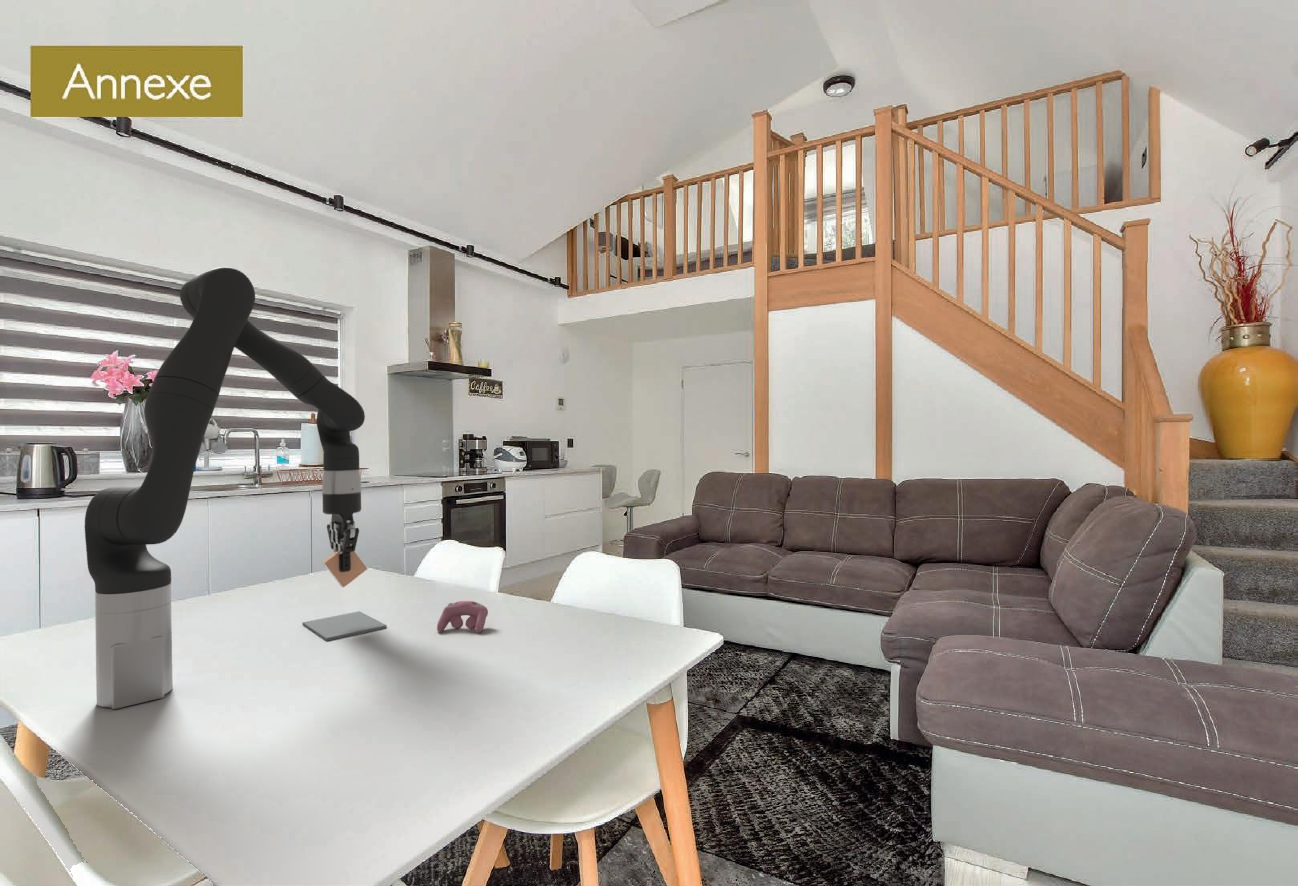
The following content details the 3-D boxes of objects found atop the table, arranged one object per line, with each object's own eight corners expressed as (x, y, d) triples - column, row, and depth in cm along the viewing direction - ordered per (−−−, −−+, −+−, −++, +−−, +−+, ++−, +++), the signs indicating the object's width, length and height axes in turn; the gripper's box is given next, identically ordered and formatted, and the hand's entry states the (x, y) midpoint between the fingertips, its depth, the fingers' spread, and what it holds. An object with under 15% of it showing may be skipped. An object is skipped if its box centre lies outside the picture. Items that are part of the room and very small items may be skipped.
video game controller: (487, 636, 130) (491, 603, 133) (480, 632, 126) (485, 598, 129) (442, 635, 130) (447, 602, 134) (433, 631, 126) (439, 598, 129)
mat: (386, 627, 131) (386, 625, 131) (326, 641, 123) (326, 638, 123) (359, 613, 142) (359, 611, 142) (302, 625, 134) (302, 622, 134)
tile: (367, 569, 135) (349, 544, 133) (343, 587, 132) (324, 562, 129) (364, 567, 137) (346, 543, 134) (340, 586, 133) (321, 561, 130)
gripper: (371, 491, 130) (372, 572, 130) (348, 488, 140) (350, 563, 140) (334, 493, 125) (335, 578, 125) (313, 490, 135) (314, 569, 135)
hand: (343, 570), depth 133 cm, fingers closed on tile, 1 cm apart
